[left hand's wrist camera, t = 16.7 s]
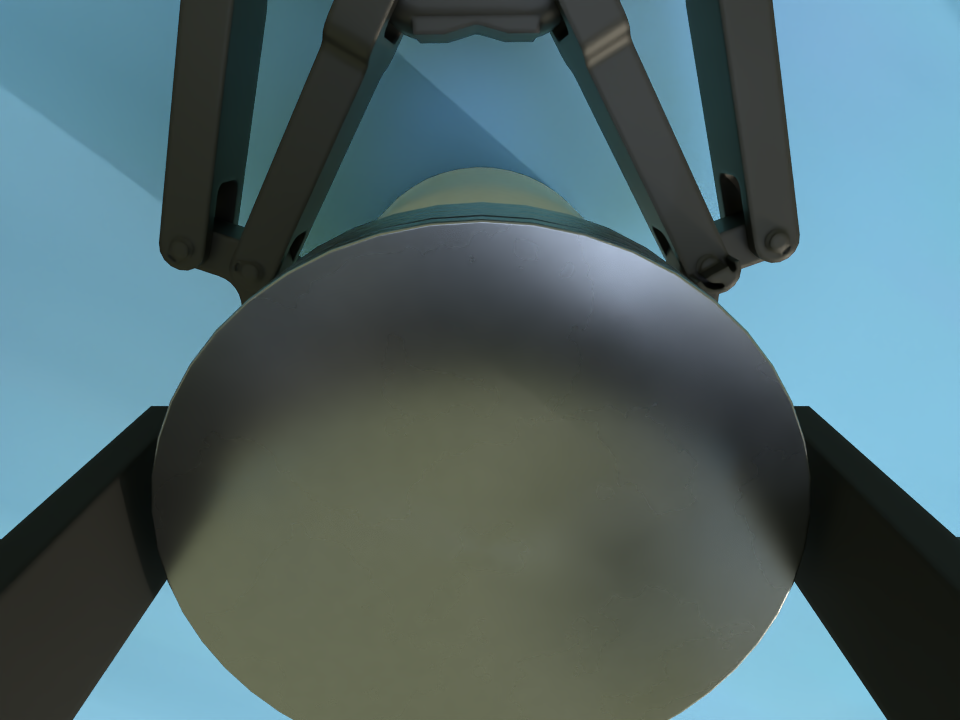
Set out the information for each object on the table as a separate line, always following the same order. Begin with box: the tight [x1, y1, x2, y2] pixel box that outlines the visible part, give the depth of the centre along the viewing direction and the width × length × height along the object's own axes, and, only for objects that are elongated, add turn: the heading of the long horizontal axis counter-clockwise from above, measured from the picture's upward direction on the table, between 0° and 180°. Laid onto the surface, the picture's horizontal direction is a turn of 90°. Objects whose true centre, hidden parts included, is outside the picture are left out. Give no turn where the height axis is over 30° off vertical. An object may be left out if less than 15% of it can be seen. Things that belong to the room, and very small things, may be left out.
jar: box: [377, 167, 585, 220], centre depth 18 cm, size 10×10×15 cm
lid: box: [152, 202, 811, 720], centre depth 11 cm, size 11×11×2 cm
